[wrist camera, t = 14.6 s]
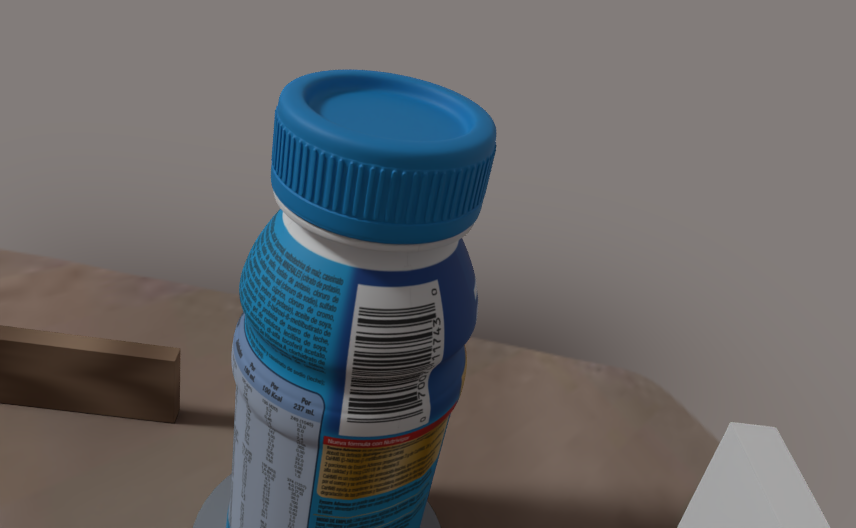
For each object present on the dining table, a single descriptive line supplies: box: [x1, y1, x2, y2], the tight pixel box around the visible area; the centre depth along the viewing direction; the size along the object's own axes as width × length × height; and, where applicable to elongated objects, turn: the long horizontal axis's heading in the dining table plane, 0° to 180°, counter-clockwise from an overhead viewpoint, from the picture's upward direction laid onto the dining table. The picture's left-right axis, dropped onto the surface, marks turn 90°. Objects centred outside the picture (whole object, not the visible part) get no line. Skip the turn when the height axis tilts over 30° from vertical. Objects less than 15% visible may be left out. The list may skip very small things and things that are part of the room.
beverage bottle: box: [226, 70, 496, 528], centre depth 28 cm, size 8×8×20 cm
